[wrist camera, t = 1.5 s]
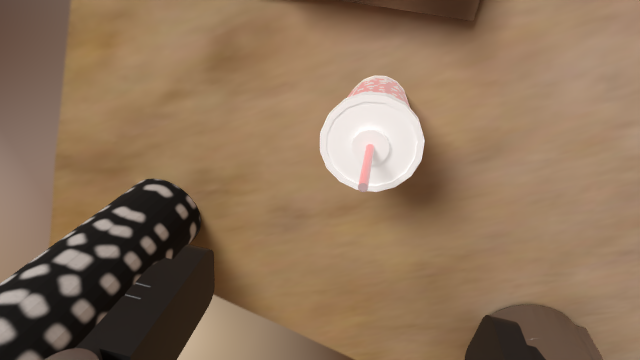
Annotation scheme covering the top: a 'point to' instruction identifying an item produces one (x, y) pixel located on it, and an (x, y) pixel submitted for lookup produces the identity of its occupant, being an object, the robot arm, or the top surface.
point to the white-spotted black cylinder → (92, 270)
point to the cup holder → (430, 7)
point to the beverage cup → (372, 137)
